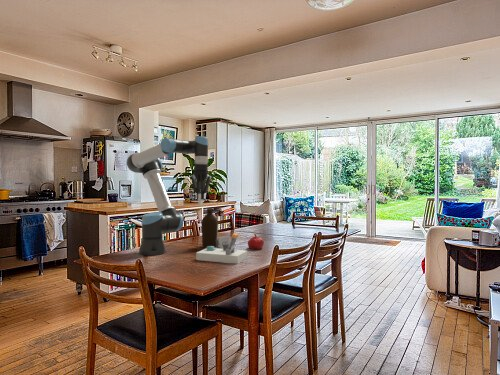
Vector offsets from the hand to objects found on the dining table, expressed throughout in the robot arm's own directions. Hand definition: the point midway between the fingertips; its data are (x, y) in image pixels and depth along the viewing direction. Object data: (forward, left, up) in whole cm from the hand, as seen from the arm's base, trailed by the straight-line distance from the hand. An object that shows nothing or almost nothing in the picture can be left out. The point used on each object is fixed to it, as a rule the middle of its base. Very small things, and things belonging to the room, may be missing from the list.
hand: (200, 205), depth 195 cm
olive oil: (-6, +23, -29) cm, 38 cm away
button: (+8, -4, -28) cm, 29 cm away
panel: (+16, -6, -29) cm, 33 cm away
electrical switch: (+9, +11, -29) cm, 32 cm away
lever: (+22, -9, -24) cm, 33 cm away
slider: (+17, -2, -25) cm, 30 cm away
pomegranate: (+24, +27, -29) cm, 47 cm away
